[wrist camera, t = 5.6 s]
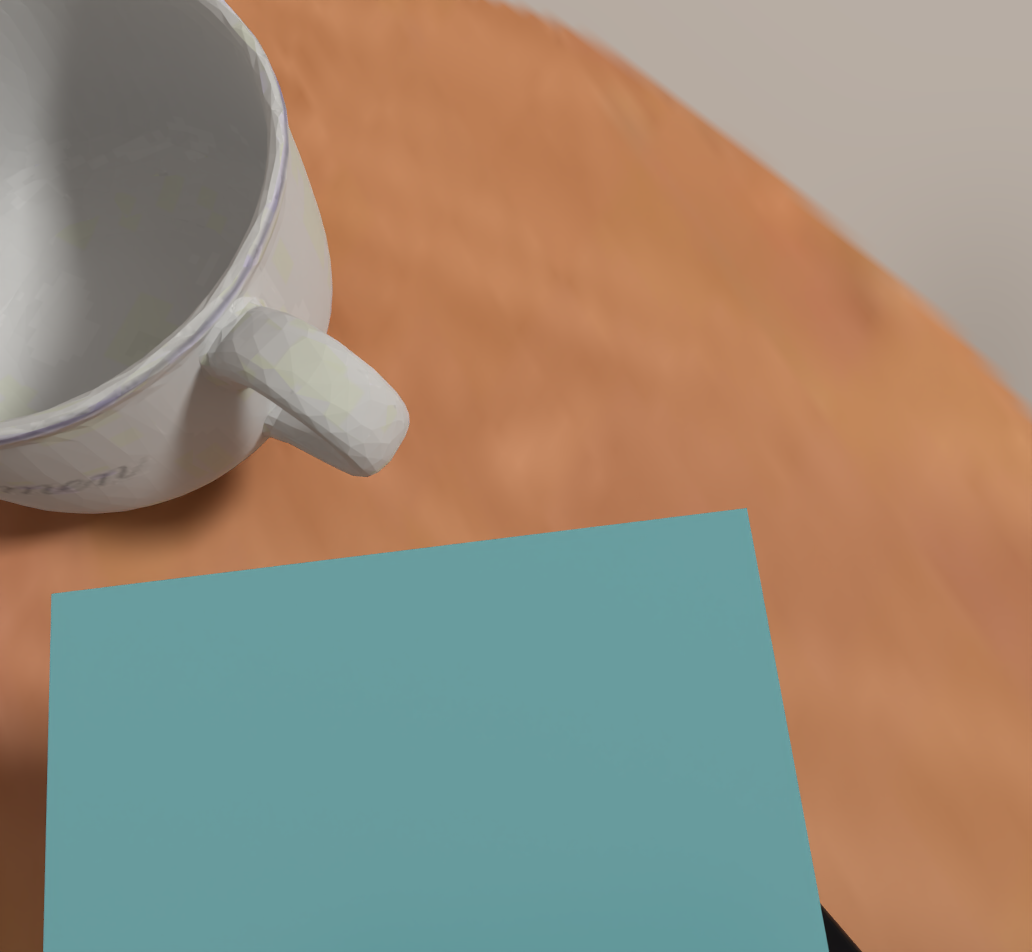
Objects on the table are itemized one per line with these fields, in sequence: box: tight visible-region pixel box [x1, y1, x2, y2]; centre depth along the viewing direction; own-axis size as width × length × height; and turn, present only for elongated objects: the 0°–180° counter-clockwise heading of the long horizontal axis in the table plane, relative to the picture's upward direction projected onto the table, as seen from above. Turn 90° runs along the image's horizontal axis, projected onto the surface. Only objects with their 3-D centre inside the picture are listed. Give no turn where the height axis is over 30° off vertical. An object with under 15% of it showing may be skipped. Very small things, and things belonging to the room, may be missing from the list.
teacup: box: [0, 0, 409, 514], centre depth 21 cm, size 14×11×8 cm
